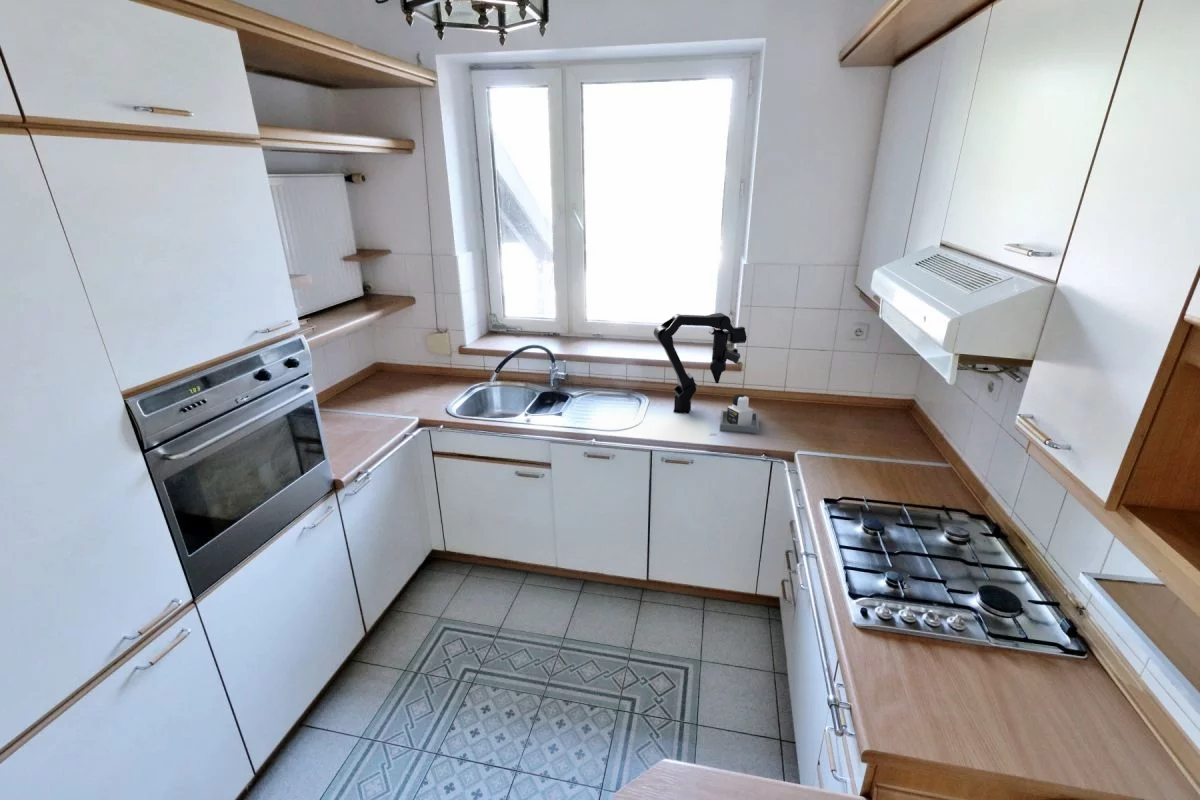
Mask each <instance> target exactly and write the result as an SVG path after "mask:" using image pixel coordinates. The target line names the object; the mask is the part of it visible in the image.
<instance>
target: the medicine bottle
mask: <svg viewBox="0 0 1200 800" xmlns="http://www.w3.org/2000/svg"><path fill="white" fill-rule="evenodd" d="M749 401H750V398H749V396H748V395H747V394H746V395H745V394H735V395H734V396H733V397H732V405H728V406H727V409H726V411H727V423H729V424H736V425H747V426H751V423H752V413H754V412H753V411H754V409H753V408H752V407H749Z"/></svg>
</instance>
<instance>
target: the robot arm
mask: <svg viewBox="0 0 1200 800" xmlns="http://www.w3.org/2000/svg"><path fill="white" fill-rule="evenodd" d="M731 320H732V319H731V318H730V317H729V316H728V315H726V314H724V313H723V312H715V313H711V314H708V315H707V314H706V315H701V314H698V315H697V314H696V315H695V314H681V313H680V314H679V313H676V314H674V315H673V316H672V317H671V318H669V319H667V320H666V321H664V322H663V323H661V324H660V325H657V326H656V327H655V328H654V331H653V335H654V337H655V338H656V340H657V342H658V343H659V344H660V345H661V347H662V348H663V349H664V352H665V354H666V355H667V357H668V360H669V362H670V364H671V366H672V368H673V371H674V373H675V375H676V381H677V386H675V387H674V388H673V394H674V395H675V396H674V406H673V407H674V408H673V413H675V412H677V413H679V414H690V412H691V409H692V398H693V395H694V394H695V393H696V391H697V386H698V385H697V383H696V382H695V379H694V376H692V375H691V373H690V372H688V373H687V372H686V370H685V367H684V365H683V364H682V361H681V360H680V359H681V358H680V357H679V355H678V352H677V350H676V348H675V345H674V338H673V336H674V334H676V333H677V331H678V330H679V329H680V328H681V326H695V327H697V326H701V327H710V328H711V329H710V330H709V331H708V333H709V334H710V335H712V336H713V337H712V338H713V340H712V341H713V343H712V355H711V362H710V367H709V369H710V371H711V374H712V377H713V379H714V382H715V384H719V383H720V379H721V376H722V373H723V372H725V371H726V369H727V360H728V361H730V362H732V363H734V364H738V362H739V360H740V359H741V354H740V352H739V351H738V349H737V348H736V347H735V348H733V349H728V348H729V347H728V342H729V343H730V344H731V345H734V344H735V345H736V344H745V343H747V337H748V336H747V332H746V327H744V326H738V327H734V326H733V324H732V323H731V322H732V321H731ZM677 413H676V414H677Z"/></svg>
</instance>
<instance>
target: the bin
mask: <svg viewBox="0 0 1200 800" xmlns="http://www.w3.org/2000/svg"><path fill="white" fill-rule="evenodd" d="M719 423H720V424H719V432H725V431H726V432H727V433H737V432H738V433H739V434H748V433H750V434H751V435H759V429H760V427H759V413H758V412H753V413H752V423H751V426H747V425H736V424H729V423H727V410H723V409H722V410H721V413H720V421H719Z"/></svg>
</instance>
